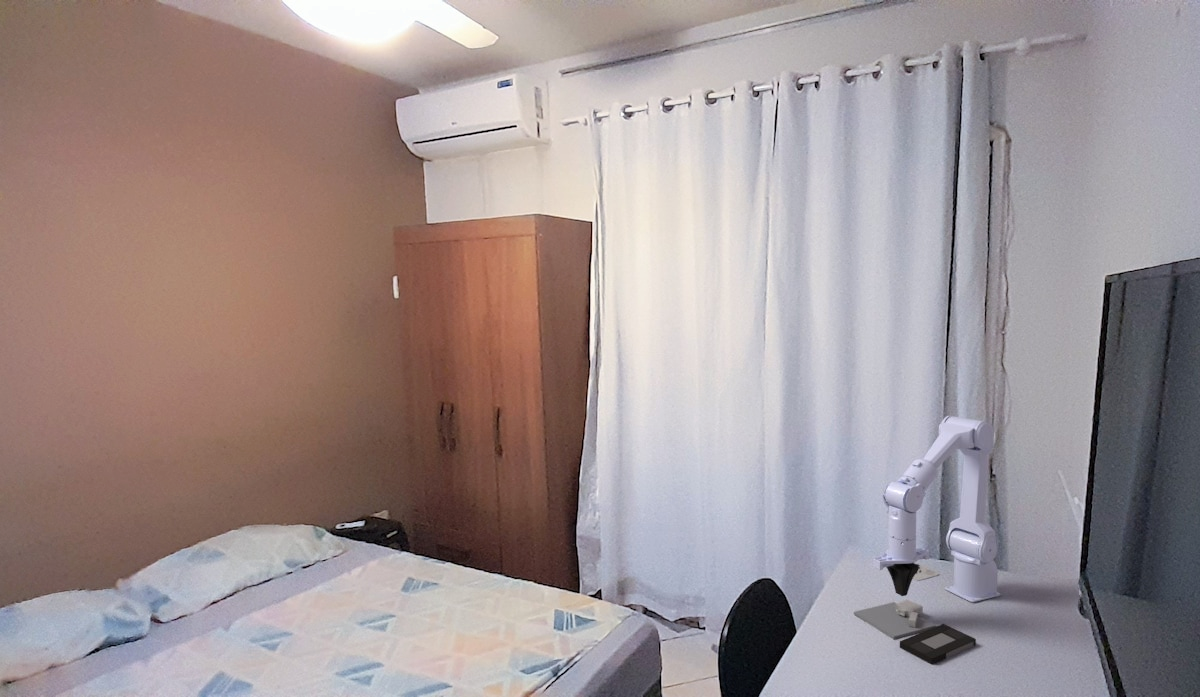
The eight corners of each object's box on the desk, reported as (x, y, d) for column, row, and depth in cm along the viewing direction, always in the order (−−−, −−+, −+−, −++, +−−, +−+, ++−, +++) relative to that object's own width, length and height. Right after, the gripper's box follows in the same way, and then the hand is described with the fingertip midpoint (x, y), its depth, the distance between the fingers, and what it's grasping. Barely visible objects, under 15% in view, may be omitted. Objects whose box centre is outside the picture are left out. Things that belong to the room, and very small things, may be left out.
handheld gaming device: (917, 579, 170) (872, 558, 184) (917, 582, 170) (872, 561, 184) (941, 572, 174) (895, 552, 188) (941, 575, 174) (895, 555, 188)
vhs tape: (976, 648, 140) (976, 639, 140) (932, 667, 133) (932, 658, 133) (943, 632, 146) (943, 623, 146) (899, 650, 140) (899, 641, 139)
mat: (894, 604, 158) (894, 602, 158) (935, 627, 147) (935, 625, 147) (853, 614, 154) (853, 611, 154) (893, 639, 143) (893, 636, 143)
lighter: (906, 606, 156) (884, 615, 152) (906, 599, 156) (884, 608, 152) (934, 618, 150) (913, 628, 146) (935, 611, 150) (913, 621, 146)
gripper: (912, 525, 156) (911, 581, 157) (863, 534, 151) (863, 592, 152) (937, 535, 149) (936, 593, 150) (887, 545, 144) (886, 605, 145)
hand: (901, 593), depth 151 cm, fingers closed
